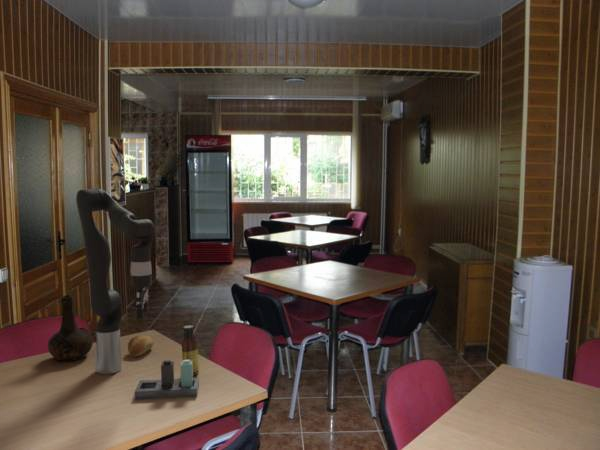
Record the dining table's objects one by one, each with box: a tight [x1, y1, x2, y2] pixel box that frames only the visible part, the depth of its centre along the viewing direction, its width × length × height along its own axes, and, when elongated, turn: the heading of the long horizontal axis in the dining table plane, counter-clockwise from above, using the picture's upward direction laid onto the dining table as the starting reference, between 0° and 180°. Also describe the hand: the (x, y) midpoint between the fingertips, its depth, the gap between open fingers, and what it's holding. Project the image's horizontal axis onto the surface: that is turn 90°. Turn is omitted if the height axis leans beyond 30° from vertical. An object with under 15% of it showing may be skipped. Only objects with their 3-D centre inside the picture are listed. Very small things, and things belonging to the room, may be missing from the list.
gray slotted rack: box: [134, 359, 200, 401], centre depth 187 cm, size 22×10×12 cm, turn 97°
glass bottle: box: [47, 294, 94, 362], centre depth 222 cm, size 18×18×28 cm
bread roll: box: [127, 334, 154, 358], centre depth 230 cm, size 10×15×8 cm, turn 172°
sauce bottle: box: [181, 324, 200, 377], centre depth 204 cm, size 7×6×20 cm
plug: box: [180, 359, 194, 387], centre depth 188 cm, size 4×4×12 cm
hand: (142, 315), depth 190 cm, fingers open, 8 cm apart
